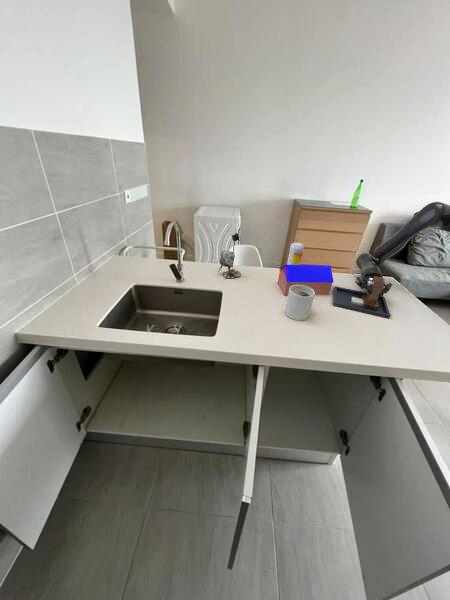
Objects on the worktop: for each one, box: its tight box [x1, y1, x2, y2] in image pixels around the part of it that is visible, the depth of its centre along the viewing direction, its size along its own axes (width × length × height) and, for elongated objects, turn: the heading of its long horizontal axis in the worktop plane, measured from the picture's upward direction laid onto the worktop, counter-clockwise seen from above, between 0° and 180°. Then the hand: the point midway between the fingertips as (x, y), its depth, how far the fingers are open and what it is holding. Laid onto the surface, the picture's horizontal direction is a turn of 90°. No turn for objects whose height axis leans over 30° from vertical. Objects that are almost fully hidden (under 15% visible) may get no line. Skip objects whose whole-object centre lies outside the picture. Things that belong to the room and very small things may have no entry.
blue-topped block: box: [277, 264, 335, 297], centre depth 105 cm, size 12×20×12 cm, turn 94°
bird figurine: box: [217, 232, 242, 279], centre depth 111 cm, size 8×11×20 cm
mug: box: [284, 285, 315, 321], centre depth 89 cm, size 11×10×10 cm
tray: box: [332, 286, 391, 320], centre depth 99 cm, size 20×16×2 cm
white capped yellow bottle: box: [286, 242, 305, 265], centre depth 118 cm, size 6×6×15 cm
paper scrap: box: [351, 297, 363, 306], centre depth 99 cm, size 4×4×1 cm
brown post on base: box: [361, 276, 386, 311], centre depth 95 cm, size 5×8×12 cm, turn 158°
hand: (375, 293), depth 92 cm, fingers closed on brown post on base, 3 cm apart
